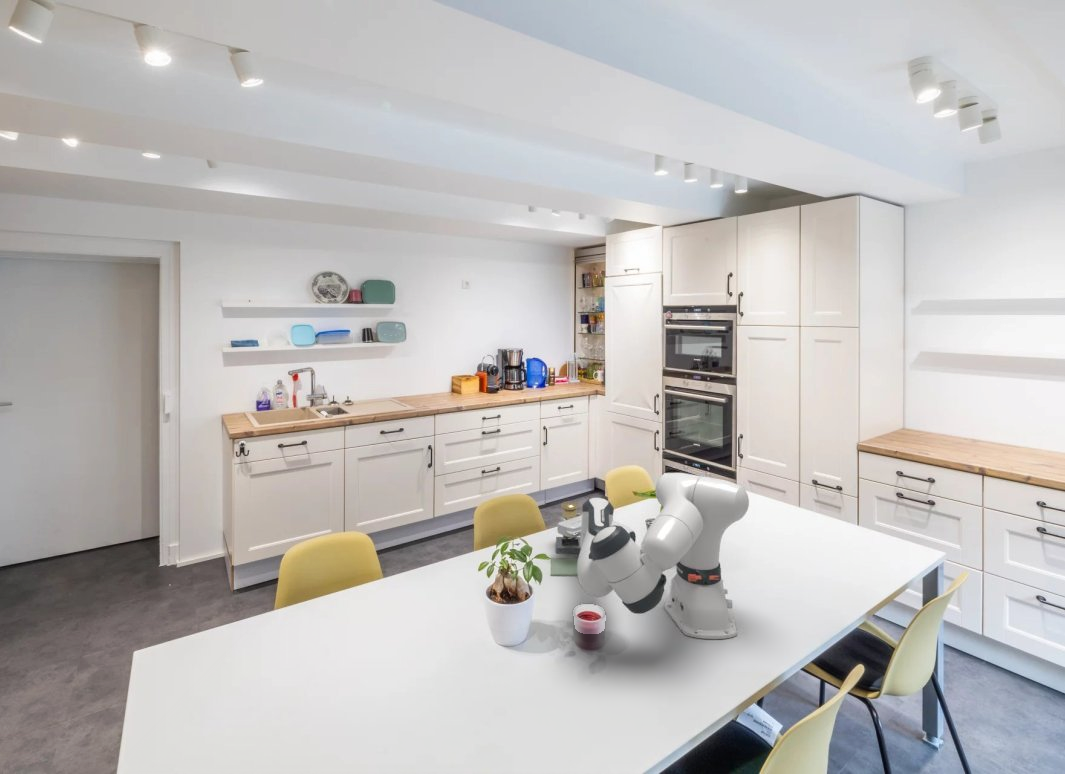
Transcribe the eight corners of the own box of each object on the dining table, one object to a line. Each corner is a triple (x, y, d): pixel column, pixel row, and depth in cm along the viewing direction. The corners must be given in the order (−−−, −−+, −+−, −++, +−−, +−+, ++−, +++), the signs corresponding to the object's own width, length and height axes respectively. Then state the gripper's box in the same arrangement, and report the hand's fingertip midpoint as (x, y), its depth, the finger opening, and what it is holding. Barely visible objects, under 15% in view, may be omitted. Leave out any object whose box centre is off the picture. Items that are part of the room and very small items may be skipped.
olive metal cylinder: (578, 540, 194) (578, 506, 192) (561, 540, 194) (561, 507, 193) (577, 533, 200) (577, 501, 198) (561, 533, 200) (561, 501, 199)
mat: (581, 576, 176) (581, 574, 176) (550, 576, 177) (550, 574, 177) (579, 559, 188) (579, 558, 188) (550, 559, 189) (550, 558, 189)
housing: (584, 555, 192) (584, 548, 192) (556, 554, 193) (556, 548, 192) (583, 543, 202) (583, 537, 202) (556, 543, 203) (556, 536, 202)
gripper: (573, 545, 180) (546, 533, 191) (615, 529, 193) (587, 519, 204) (573, 527, 179) (546, 515, 190) (615, 512, 192) (587, 502, 203)
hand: (568, 517), depth 197 cm, fingers closed on olive metal cylinder, 5 cm apart
